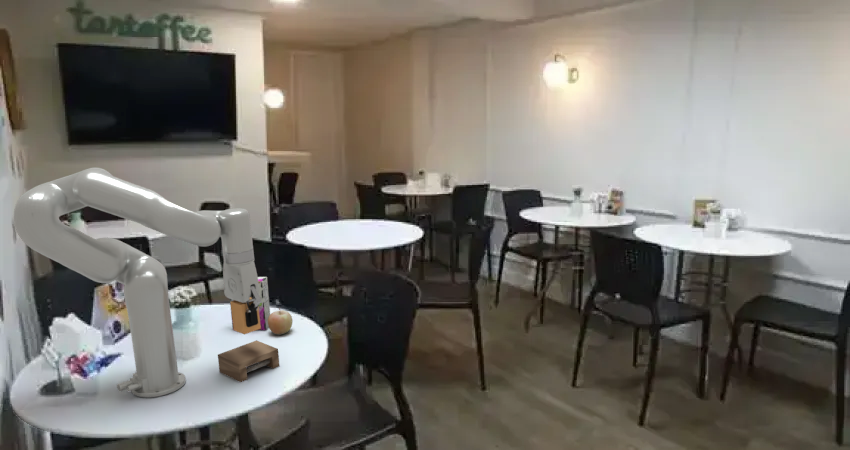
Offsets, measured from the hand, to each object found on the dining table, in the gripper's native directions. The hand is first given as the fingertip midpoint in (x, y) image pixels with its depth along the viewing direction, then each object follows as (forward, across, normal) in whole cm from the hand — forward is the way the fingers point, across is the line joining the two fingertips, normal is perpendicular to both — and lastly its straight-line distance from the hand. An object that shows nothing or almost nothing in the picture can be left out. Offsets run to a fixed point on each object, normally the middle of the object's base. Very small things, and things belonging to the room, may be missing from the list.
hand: (246, 322), depth 161 cm
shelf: (+13, 0, 0) cm, 13 cm away
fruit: (+14, -15, +21) cm, 29 cm away
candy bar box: (+14, -26, +18) cm, 34 cm away
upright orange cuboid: (+2, 0, 0) cm, 2 cm away
